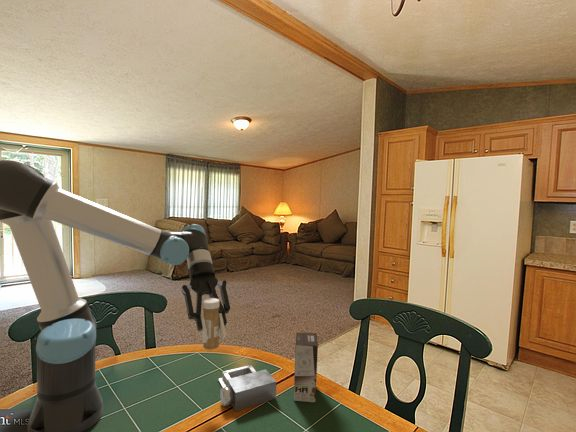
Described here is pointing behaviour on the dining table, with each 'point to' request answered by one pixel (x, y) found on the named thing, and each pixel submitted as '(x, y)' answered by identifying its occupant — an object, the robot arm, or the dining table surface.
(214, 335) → the sprinkles bottle
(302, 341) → the coffee box
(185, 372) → the dining table surface
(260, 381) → the grey open drawer box
